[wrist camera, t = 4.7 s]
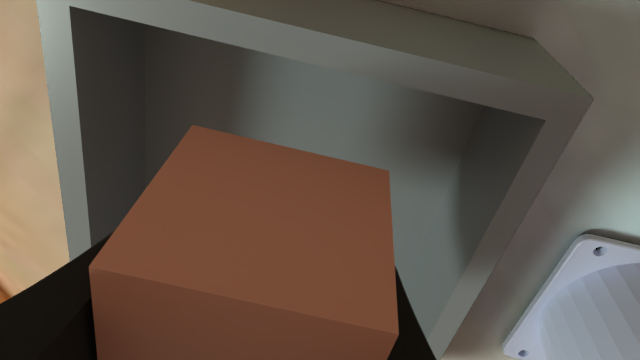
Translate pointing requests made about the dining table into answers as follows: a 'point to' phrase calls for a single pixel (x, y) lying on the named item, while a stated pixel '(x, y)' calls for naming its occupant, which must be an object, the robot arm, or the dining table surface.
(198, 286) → the cube
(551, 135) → the tote
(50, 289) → the robot arm
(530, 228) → the dining table surface
